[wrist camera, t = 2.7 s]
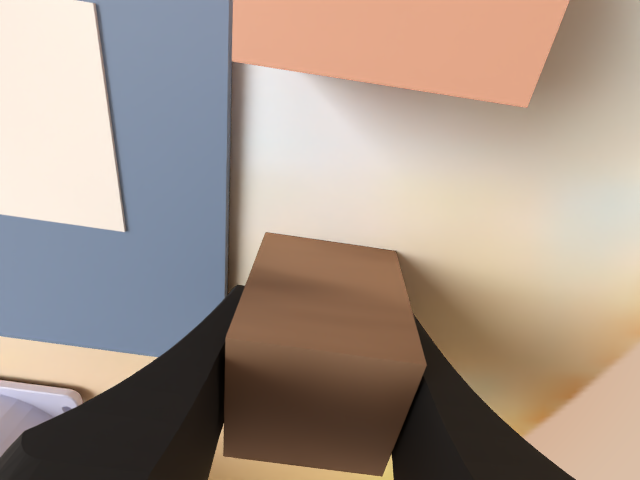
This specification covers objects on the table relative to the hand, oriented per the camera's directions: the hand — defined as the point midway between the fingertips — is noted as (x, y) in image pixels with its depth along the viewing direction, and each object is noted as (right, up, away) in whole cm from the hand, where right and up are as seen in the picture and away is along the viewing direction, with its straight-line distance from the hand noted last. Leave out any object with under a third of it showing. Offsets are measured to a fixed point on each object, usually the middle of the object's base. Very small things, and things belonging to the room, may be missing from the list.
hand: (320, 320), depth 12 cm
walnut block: (0, +1, +1) cm, 1 cm away
